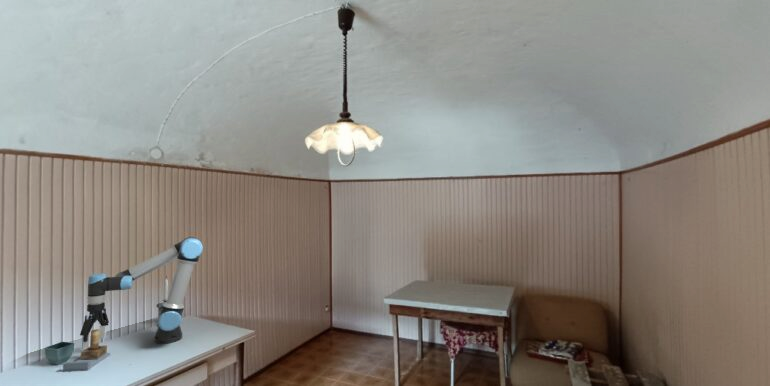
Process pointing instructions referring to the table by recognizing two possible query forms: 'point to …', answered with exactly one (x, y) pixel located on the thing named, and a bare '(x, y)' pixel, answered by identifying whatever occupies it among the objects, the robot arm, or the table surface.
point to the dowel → (94, 339)
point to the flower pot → (59, 352)
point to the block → (93, 353)
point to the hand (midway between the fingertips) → (94, 342)
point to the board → (82, 364)
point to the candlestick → (165, 292)
